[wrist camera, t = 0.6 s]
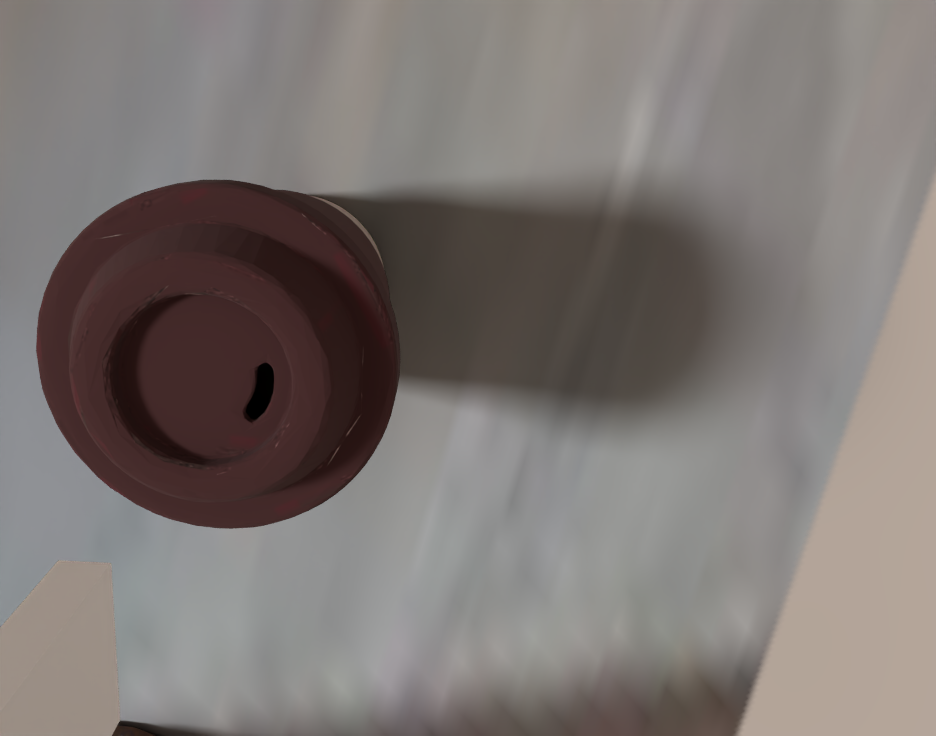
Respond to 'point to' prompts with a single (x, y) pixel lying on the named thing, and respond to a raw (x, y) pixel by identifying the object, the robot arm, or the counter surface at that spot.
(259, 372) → the coffee cup
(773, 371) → the counter surface
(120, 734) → the mug
